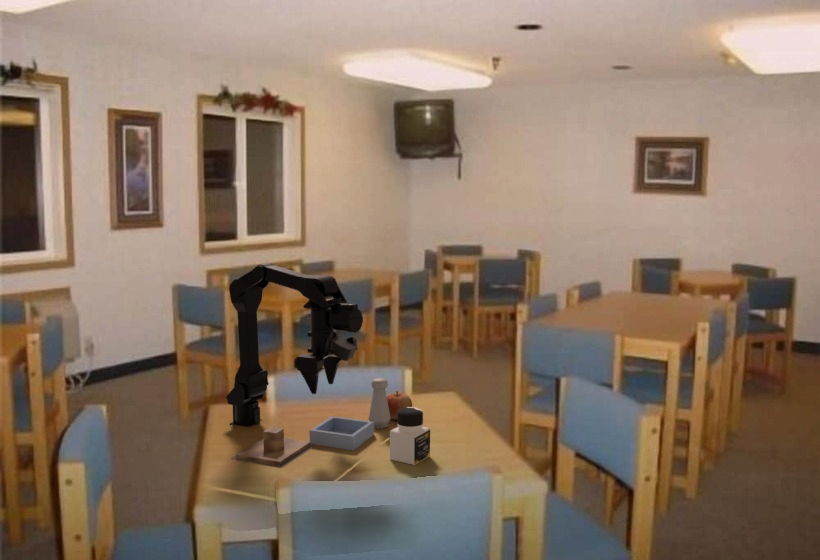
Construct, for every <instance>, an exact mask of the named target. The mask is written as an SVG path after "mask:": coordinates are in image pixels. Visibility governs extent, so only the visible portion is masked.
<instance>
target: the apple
mask: <svg viewBox="0 0 820 560" xmlns="http://www.w3.org/2000/svg"><path fill="white" fill-rule="evenodd" d="M386 397H387V402H388V407H389V412H390V417H391V418H390V420H391V419H392V420H394V421H397V412H398V411H399V410H400V409H402V408H405V407H413V402H412V399H411V397H410V396H409V395H407V394H406V393H403V392H398V390H396V391H395V392H394V393H391V394H388V395H386Z"/></svg>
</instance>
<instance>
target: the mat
mask: <svg viewBox="0 0 820 560" xmlns="http://www.w3.org/2000/svg"><path fill="white" fill-rule="evenodd" d="M313 448H315V445H314V444H310V446H309V447H308V448H306V449H305V450H303V451H302V452H300V453H299V454H297V455H296V456H294V457H293V458H291V459H290V460H288V461H287V462H285V463H284V464H282V465H281V466H278V465H272V464H266V463H260V462H254V461H248V460H242V459H236V455H235V456H232V458H231V460H237V461H243V462H248V463H254V464H260V465H265V466H271V467H279V468H285V467H286V466H287V465H289V464H291V463H292V462H293V461H295V460H296V459H298V458H299V457H301V456H302V455H304V454H305V453H306V452H309V451H310V450H311V449H313Z"/></svg>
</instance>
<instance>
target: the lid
mask: <svg viewBox="0 0 820 560" xmlns="http://www.w3.org/2000/svg"><path fill="white" fill-rule="evenodd" d="M284 430H285V429H284V428H282V427H275V426H271V427H268V428H267V429H265V430H263V433H262V434H263V437H262V439H260V440H258V441H256V442H255V443H253V444H250V445H249V446H247V447H246V448H244V449H242V450H241V451H239V452H237V453H236V454H235V456H236V459H242V460H248V461H254V462H260V463H266V464H272V465H278V466H281V465H282V464H284V463H285V462H287V461H288V460H290V459H291V458H293V457H294V456H296V455H297V454H299V453H300V452H302V451H303V450H305V449H306V448H308V447H309V446H310V445H311V444H310V441H308V440H307V441H306V440H299V439H293V438H286V437H285V431H284Z"/></svg>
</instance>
